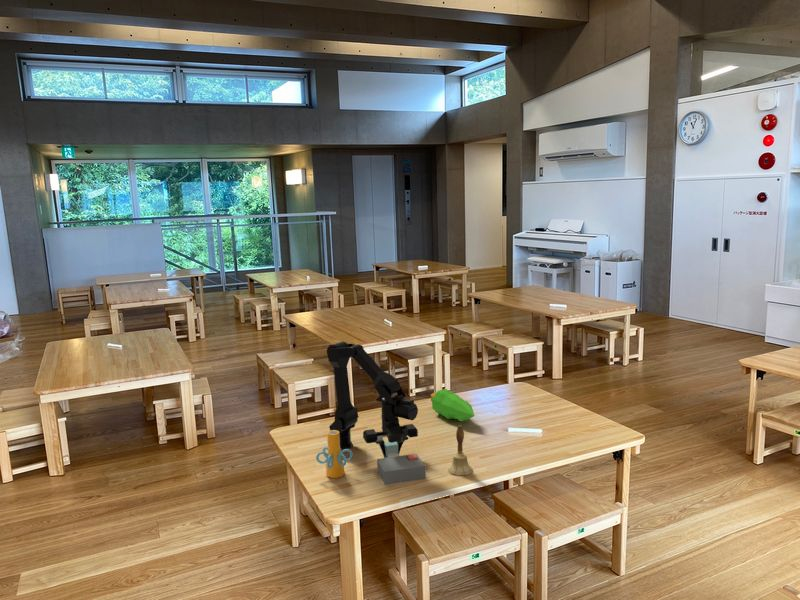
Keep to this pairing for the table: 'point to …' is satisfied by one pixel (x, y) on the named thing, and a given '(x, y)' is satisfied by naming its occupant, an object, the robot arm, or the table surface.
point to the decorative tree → (451, 405)
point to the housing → (400, 469)
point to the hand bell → (460, 457)
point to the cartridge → (391, 449)
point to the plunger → (411, 457)
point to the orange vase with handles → (334, 456)
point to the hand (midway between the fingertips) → (391, 456)
